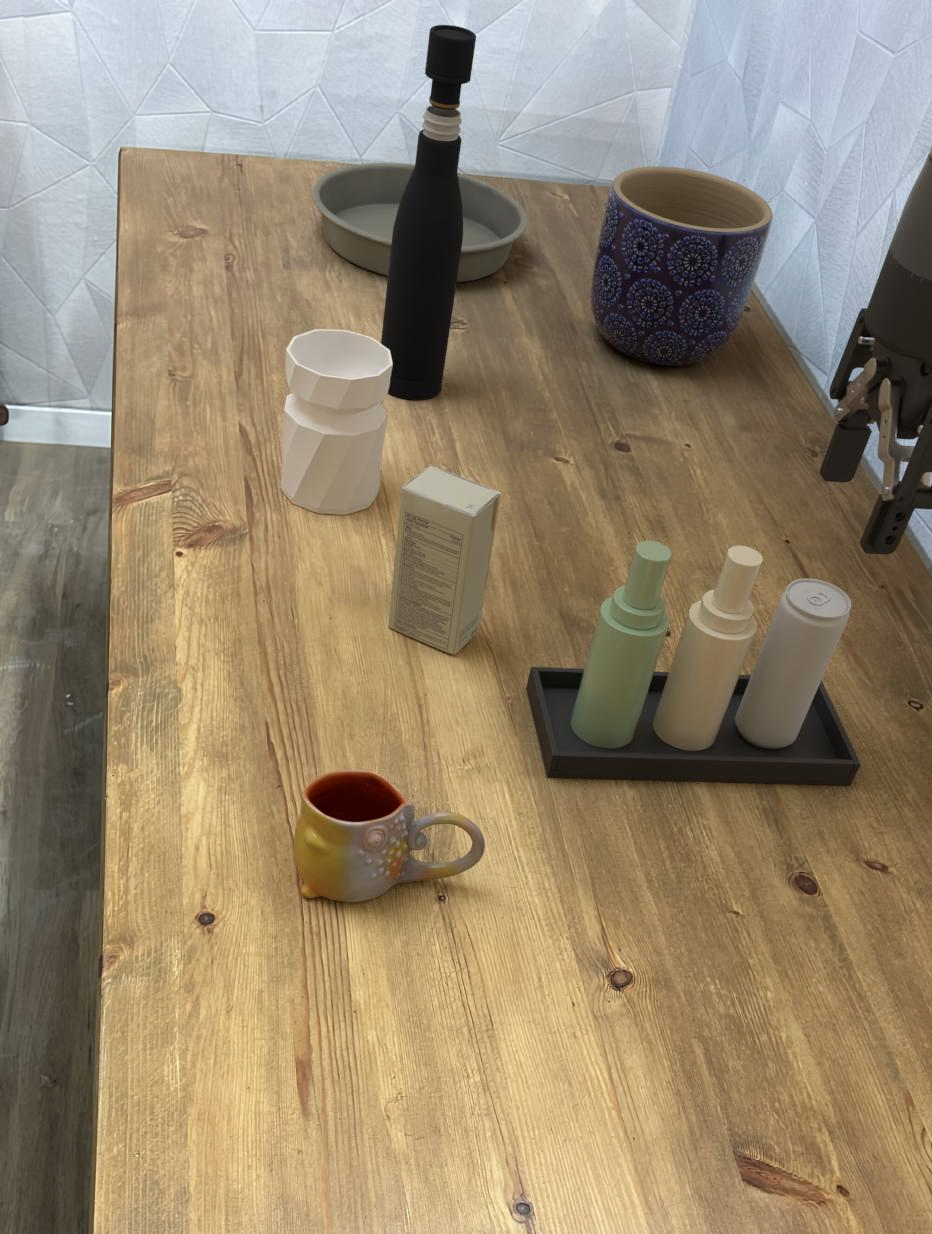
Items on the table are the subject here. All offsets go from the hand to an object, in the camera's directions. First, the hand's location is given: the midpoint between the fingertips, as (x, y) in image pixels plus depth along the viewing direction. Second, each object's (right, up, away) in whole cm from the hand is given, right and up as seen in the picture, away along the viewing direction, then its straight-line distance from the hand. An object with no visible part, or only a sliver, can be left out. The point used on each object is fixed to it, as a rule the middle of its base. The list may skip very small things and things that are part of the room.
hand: (854, 513), depth 87 cm
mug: (-31, -24, 0) cm, 39 cm away
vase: (-36, +11, +31) cm, 49 cm away
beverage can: (-2, -12, +14) cm, 19 cm away
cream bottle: (-8, -12, +13) cm, 20 cm away
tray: (-8, -13, +13) cm, 20 cm away
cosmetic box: (-27, -4, +19) cm, 33 cm away
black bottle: (-29, +26, +45) cm, 60 cm away
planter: (-2, +36, +58) cm, 68 cm away
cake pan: (-28, +52, +68) cm, 90 cm away
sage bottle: (-15, -12, +12) cm, 22 cm away
